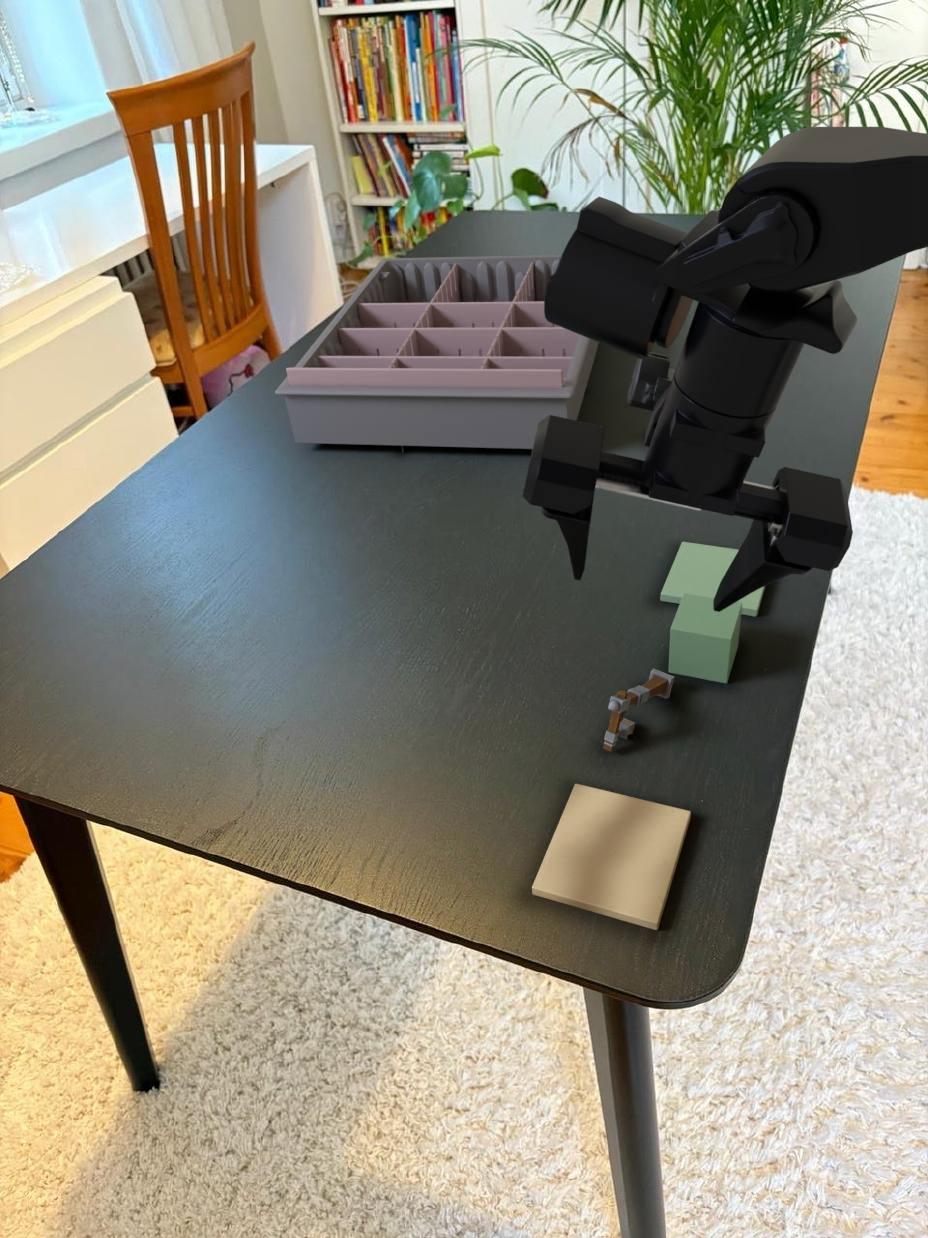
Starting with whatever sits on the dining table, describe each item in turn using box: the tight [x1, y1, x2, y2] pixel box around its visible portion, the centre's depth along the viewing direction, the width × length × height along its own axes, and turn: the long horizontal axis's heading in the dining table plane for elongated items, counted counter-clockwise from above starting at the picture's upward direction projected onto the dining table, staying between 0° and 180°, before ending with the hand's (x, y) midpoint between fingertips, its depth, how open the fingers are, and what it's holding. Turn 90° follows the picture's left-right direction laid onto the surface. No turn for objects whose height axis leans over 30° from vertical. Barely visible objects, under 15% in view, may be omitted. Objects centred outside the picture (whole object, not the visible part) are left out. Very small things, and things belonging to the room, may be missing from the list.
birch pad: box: [531, 783, 692, 931], centre depth 63 cm, size 8×9×1 cm
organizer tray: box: [274, 254, 600, 452], centre depth 117 cm, size 32×40×10 cm
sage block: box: [668, 593, 742, 684], centre depth 75 cm, size 4×4×4 cm
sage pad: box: [659, 541, 766, 617], centre depth 84 cm, size 8×8×1 cm
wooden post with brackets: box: [602, 668, 675, 752], centre depth 71 cm, size 2×8×4 cm, turn 142°
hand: (646, 590), depth 63 cm, fingers open, 9 cm apart
